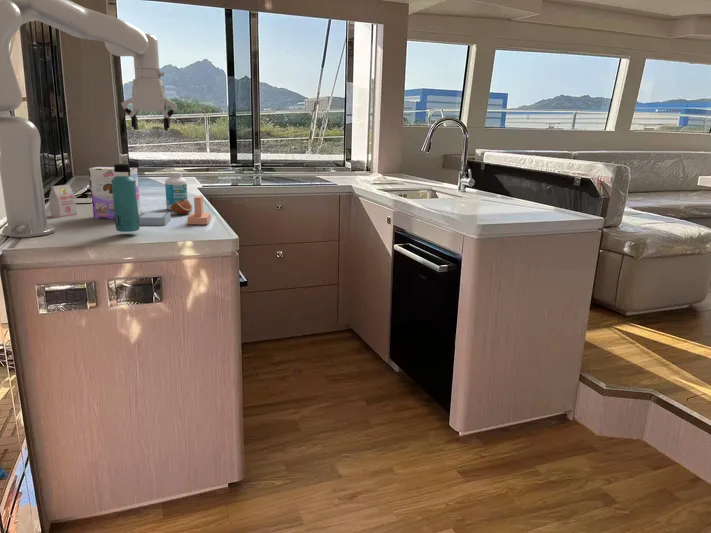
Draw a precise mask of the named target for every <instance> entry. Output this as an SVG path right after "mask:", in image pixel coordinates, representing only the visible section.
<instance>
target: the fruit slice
mask: <svg viewBox="0 0 711 533" xmlns="http://www.w3.org/2000/svg"><path fill="white" fill-rule="evenodd" d="M170 208H171V209H172V210H171V211H173V212H174V213H176V214H179V215H187V214H189V213H191V212H192V210H193V205H192V204H191V202H190V201H189V199H188V198H187V199H184V200H181V201H178V202H175V203H174V204H173V205H172V206H171V207H170Z"/></svg>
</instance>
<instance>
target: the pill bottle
mask: <svg viewBox="0 0 711 533" xmlns="http://www.w3.org/2000/svg"><path fill="white" fill-rule="evenodd" d="M168 176H169V177H167V178H166V179H165V180H164V182H165V183H164V185H165V186H164V187H165V204H166V209H167V210H168V211H173V210H172V209H171V208H170V207H171V206H172V205H173V204H174V203H175V202H178V201H181V200H184V199H187V200H188V184H187V179H185V178H183V172H182V171H168Z"/></svg>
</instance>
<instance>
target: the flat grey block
mask: <svg viewBox="0 0 711 533" xmlns="http://www.w3.org/2000/svg"><path fill="white" fill-rule="evenodd" d="M170 221H172V218H171V212H141V213H139V222H140V225H139V226H166V225H167V224H168V223H170Z"/></svg>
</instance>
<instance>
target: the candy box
mask: <svg viewBox="0 0 711 533" xmlns="http://www.w3.org/2000/svg"><path fill="white" fill-rule="evenodd" d="M87 169H88V176H89V177H88V178H89V186H90V195H91V204H92V205H91V206H92V212H93V219H98V220H100V219H101V220H103V219H104V220H115V213H114V202H113V191H112V182H111V180H112V179H113V178H114V177H115V176H131V177H133V178H134V179H135V180H136V182H135V184H136V195H137V205H138V213H142V212H141V211H142V210H141V201H140V198H141V197H140V187H139V185H140V184H139V175H138V167H137V168H136V167H130V170H131V172H114V166H109V167H108V166H94V167H89V168H87Z"/></svg>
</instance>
